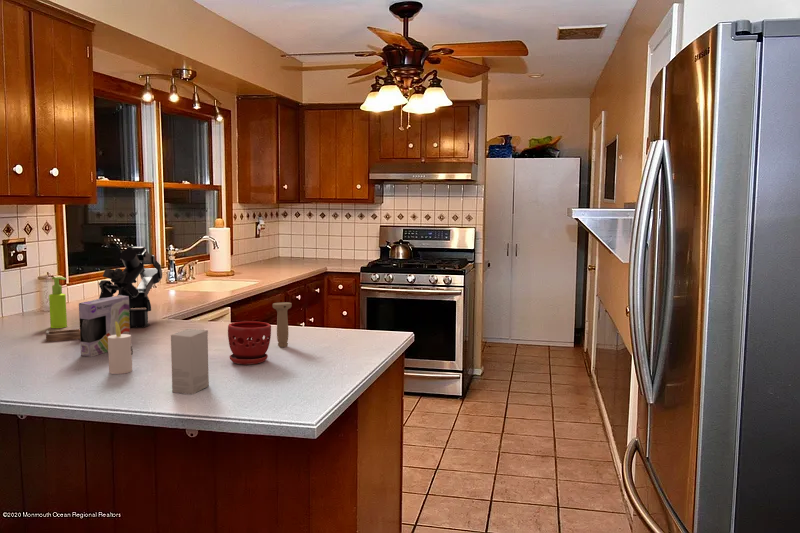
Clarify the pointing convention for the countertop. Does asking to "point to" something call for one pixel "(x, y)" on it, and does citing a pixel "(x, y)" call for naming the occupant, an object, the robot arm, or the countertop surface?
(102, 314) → the cake pan box
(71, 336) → the track
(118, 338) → the candle
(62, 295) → the soap dispenser
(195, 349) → the skincare box
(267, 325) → the plant pot
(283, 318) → the handle
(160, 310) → the countertop surface
